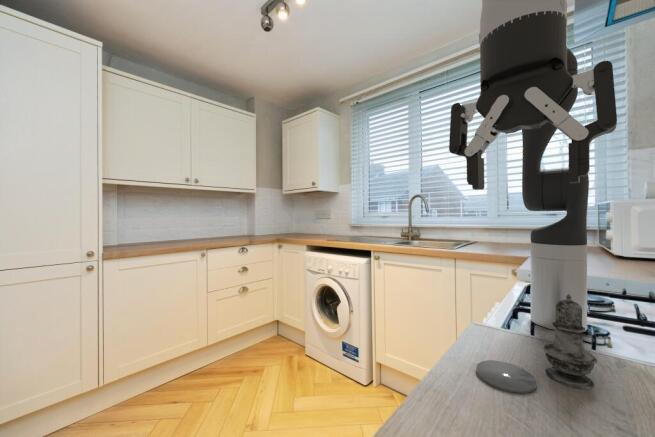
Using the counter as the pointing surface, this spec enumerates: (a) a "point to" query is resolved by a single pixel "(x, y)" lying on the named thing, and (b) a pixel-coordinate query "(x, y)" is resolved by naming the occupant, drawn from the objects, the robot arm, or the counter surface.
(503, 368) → the coaster
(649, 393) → the counter surface
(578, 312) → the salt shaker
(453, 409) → the counter surface
